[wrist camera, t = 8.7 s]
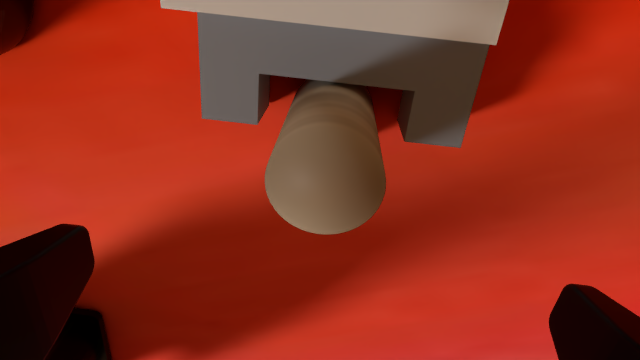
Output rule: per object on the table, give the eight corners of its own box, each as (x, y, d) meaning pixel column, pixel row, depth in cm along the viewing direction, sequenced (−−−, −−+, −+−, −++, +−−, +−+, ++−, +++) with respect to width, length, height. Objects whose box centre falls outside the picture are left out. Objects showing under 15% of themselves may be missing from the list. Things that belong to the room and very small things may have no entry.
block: (446, 125, 18) (460, 147, 16) (220, 99, 18) (201, 118, 16) (470, 31, 16) (490, 41, 14) (218, 3, 16) (197, 8, 14)
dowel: (364, 152, 19) (372, 242, 13) (288, 140, 19) (260, 225, 13) (380, 76, 17) (398, 138, 11) (297, 63, 17) (269, 118, 11)
